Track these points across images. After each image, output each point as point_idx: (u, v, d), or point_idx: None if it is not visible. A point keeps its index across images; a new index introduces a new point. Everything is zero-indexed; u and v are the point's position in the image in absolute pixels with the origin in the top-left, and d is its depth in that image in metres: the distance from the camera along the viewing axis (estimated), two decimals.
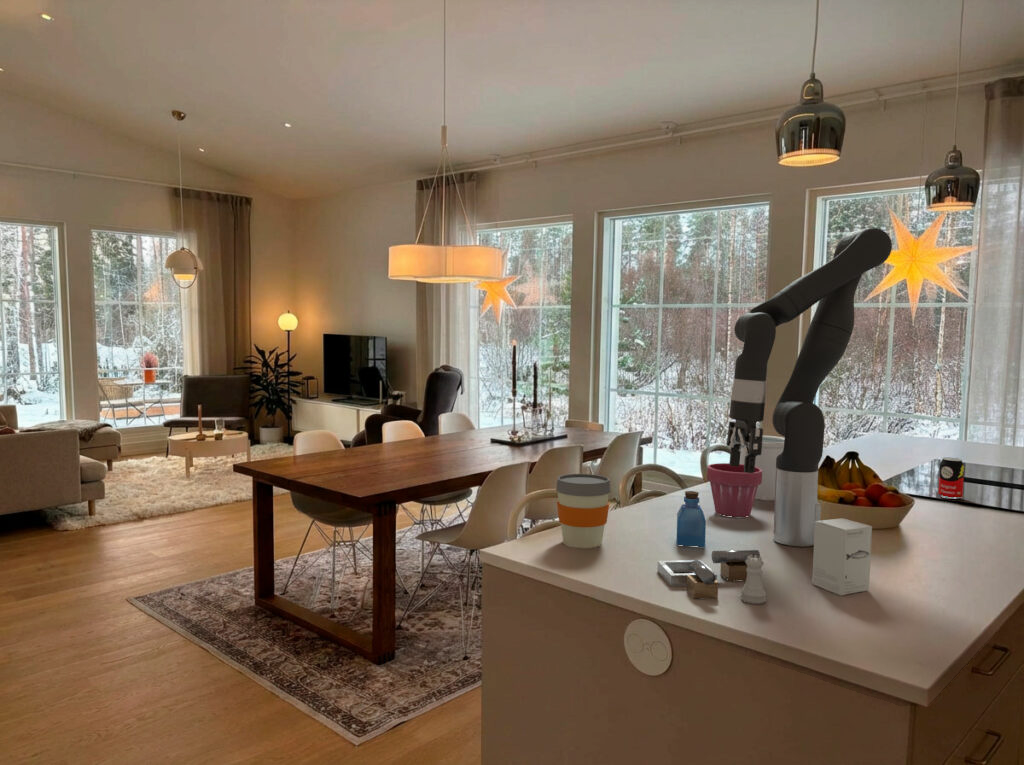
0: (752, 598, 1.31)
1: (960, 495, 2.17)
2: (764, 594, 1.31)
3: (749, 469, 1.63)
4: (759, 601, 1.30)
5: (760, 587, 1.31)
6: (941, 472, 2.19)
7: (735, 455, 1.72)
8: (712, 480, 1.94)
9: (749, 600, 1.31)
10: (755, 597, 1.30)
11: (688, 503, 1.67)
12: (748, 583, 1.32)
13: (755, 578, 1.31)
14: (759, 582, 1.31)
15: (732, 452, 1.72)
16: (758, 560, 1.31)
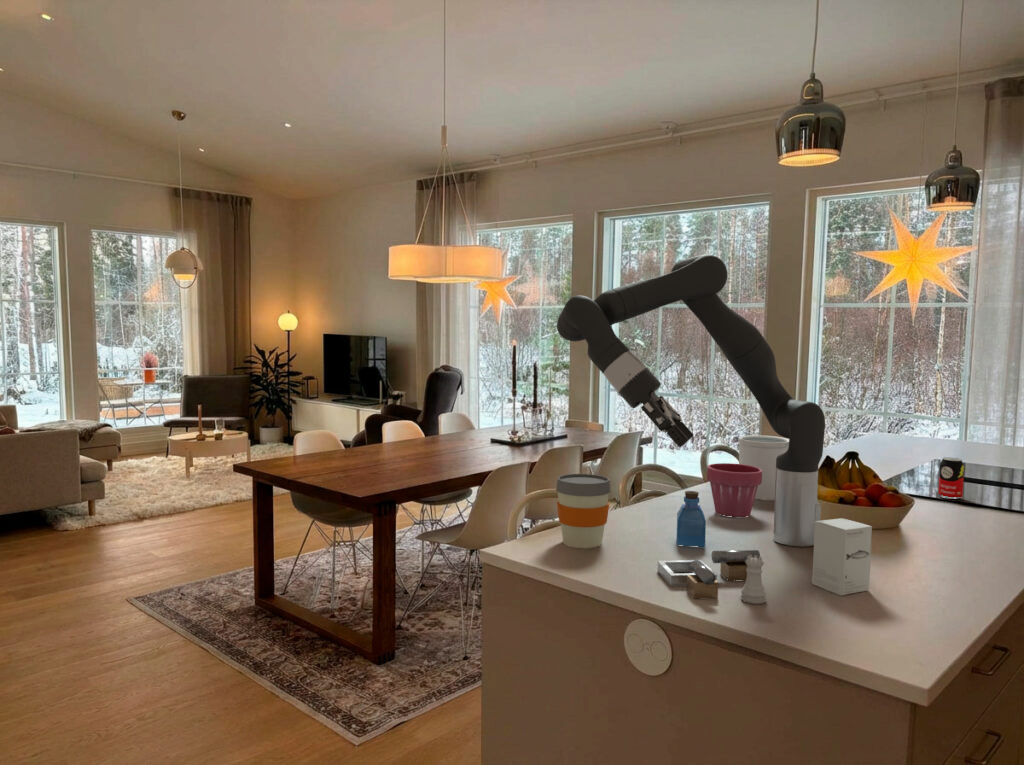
0: (752, 598, 1.31)
1: (960, 495, 2.17)
2: (764, 594, 1.31)
3: (679, 442, 1.36)
4: (759, 601, 1.30)
5: (760, 587, 1.31)
6: (941, 472, 2.19)
7: (680, 429, 1.45)
8: (712, 480, 1.94)
9: (749, 600, 1.31)
10: (755, 597, 1.30)
11: (688, 503, 1.67)
12: (748, 583, 1.32)
13: (755, 578, 1.31)
14: (759, 582, 1.31)
15: None
16: (758, 560, 1.31)
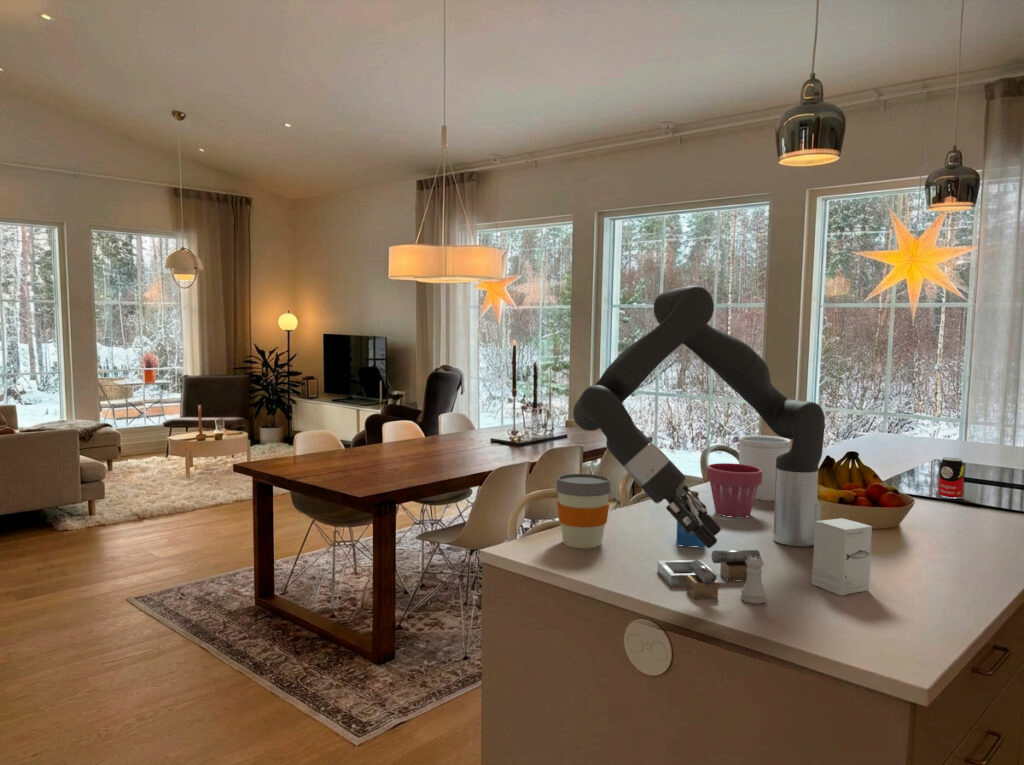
0: (752, 598, 1.31)
1: (960, 495, 2.17)
2: (764, 594, 1.31)
3: (708, 543, 1.29)
4: (759, 601, 1.30)
5: (760, 587, 1.31)
6: (941, 472, 2.19)
7: (707, 523, 1.38)
8: (712, 480, 1.94)
9: (749, 600, 1.31)
10: (755, 597, 1.30)
11: None
12: (748, 583, 1.32)
13: (755, 578, 1.31)
14: (759, 582, 1.31)
15: (701, 523, 1.38)
16: (758, 560, 1.31)
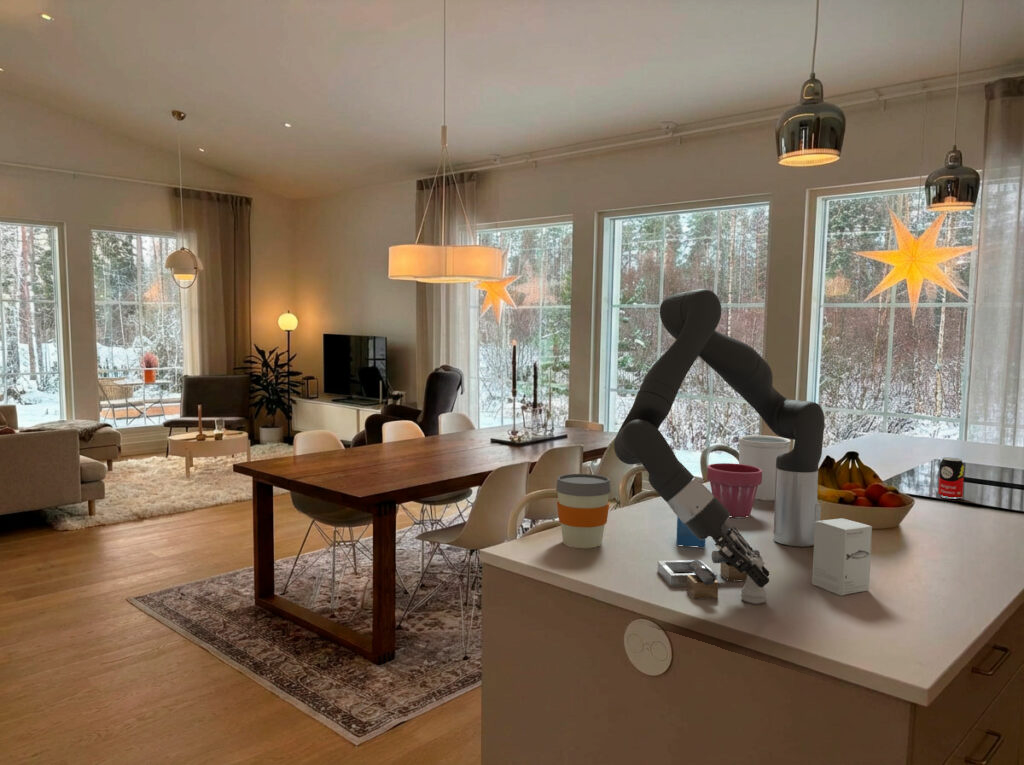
0: (752, 597, 1.31)
1: (960, 495, 2.17)
2: (764, 594, 1.31)
3: (760, 583, 1.29)
4: (759, 601, 1.30)
5: (760, 587, 1.31)
6: (941, 472, 2.19)
7: None
8: (712, 480, 1.94)
9: (749, 600, 1.31)
10: (755, 597, 1.30)
11: None
12: (748, 583, 1.31)
13: None
14: None
15: None
16: (759, 560, 1.30)
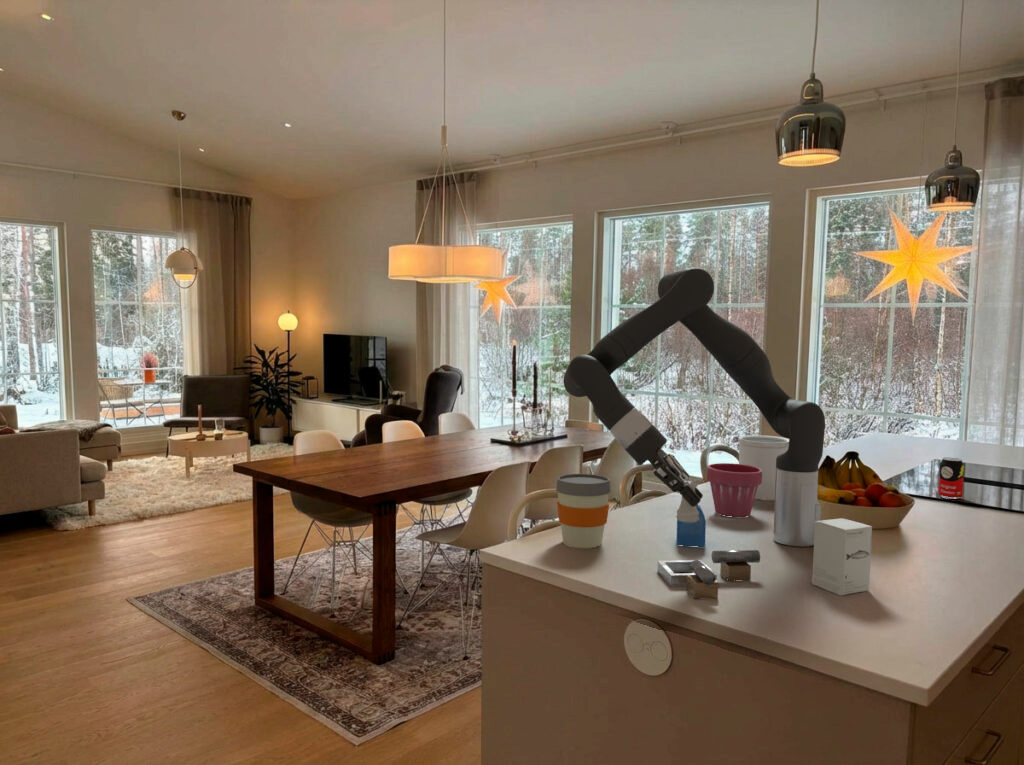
0: (685, 517, 1.42)
1: (960, 495, 2.17)
2: (697, 513, 1.42)
3: (692, 502, 1.40)
4: (692, 520, 1.42)
5: (693, 507, 1.42)
6: (941, 472, 2.19)
7: None
8: (712, 480, 1.94)
9: (683, 519, 1.42)
10: (688, 516, 1.42)
11: None
12: (682, 503, 1.43)
13: None
14: None
15: None
16: (692, 482, 1.42)
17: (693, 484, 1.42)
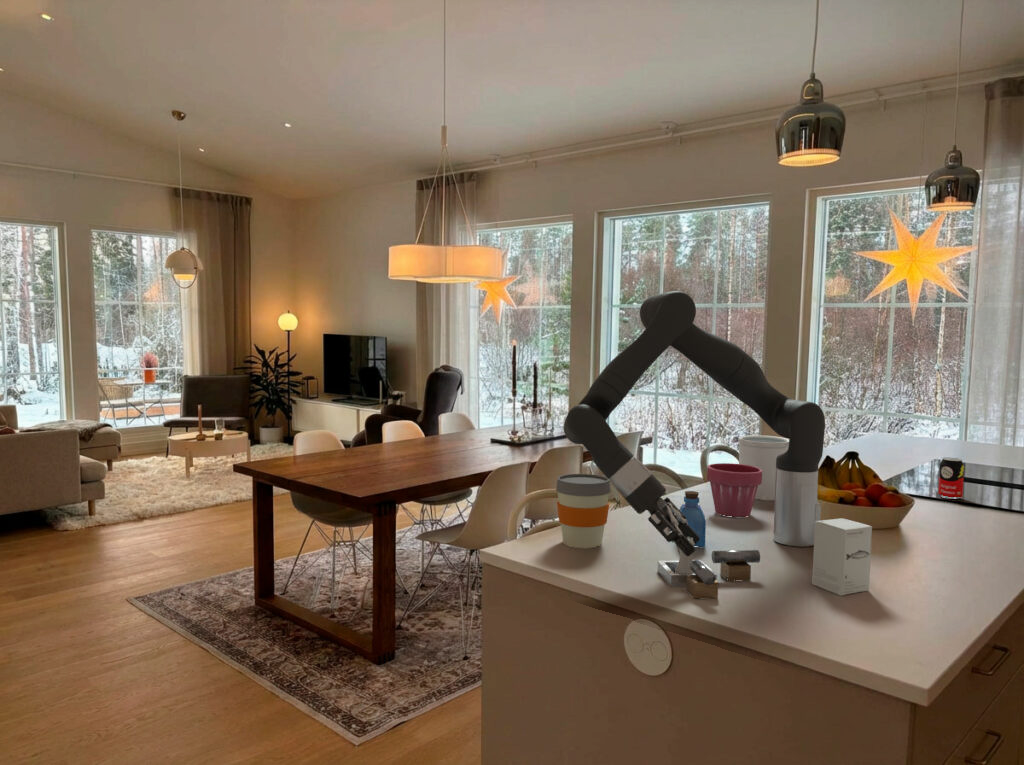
0: None
1: (960, 495, 2.17)
2: None
3: (687, 552, 1.39)
4: None
5: None
6: (941, 472, 2.19)
7: (687, 533, 1.47)
8: (712, 480, 1.94)
9: None
10: None
11: (688, 503, 1.67)
12: (680, 562, 1.43)
13: (686, 558, 1.43)
14: (690, 561, 1.43)
15: (681, 533, 1.48)
16: None
17: (690, 542, 1.43)
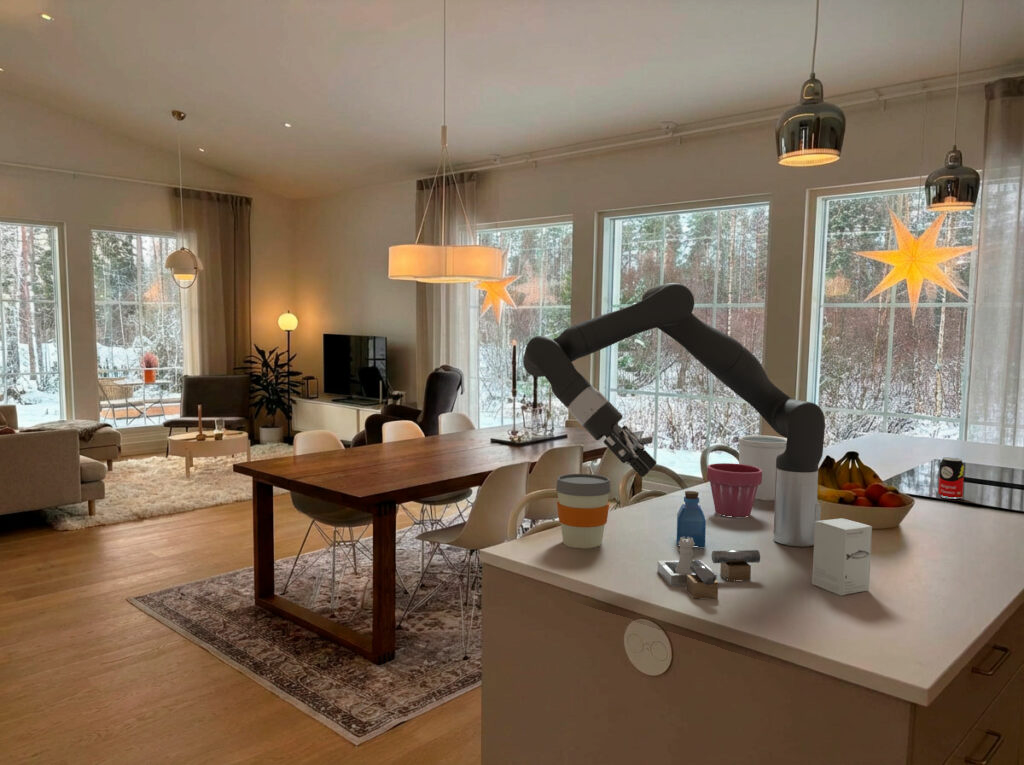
0: None
1: (960, 495, 2.17)
2: None
3: (641, 472, 1.43)
4: None
5: None
6: (941, 472, 2.19)
7: (644, 457, 1.52)
8: (712, 480, 1.94)
9: None
10: None
11: (688, 503, 1.67)
12: (680, 562, 1.44)
13: (686, 558, 1.43)
14: (690, 561, 1.43)
15: (639, 458, 1.53)
16: (689, 541, 1.43)
17: (691, 542, 1.43)
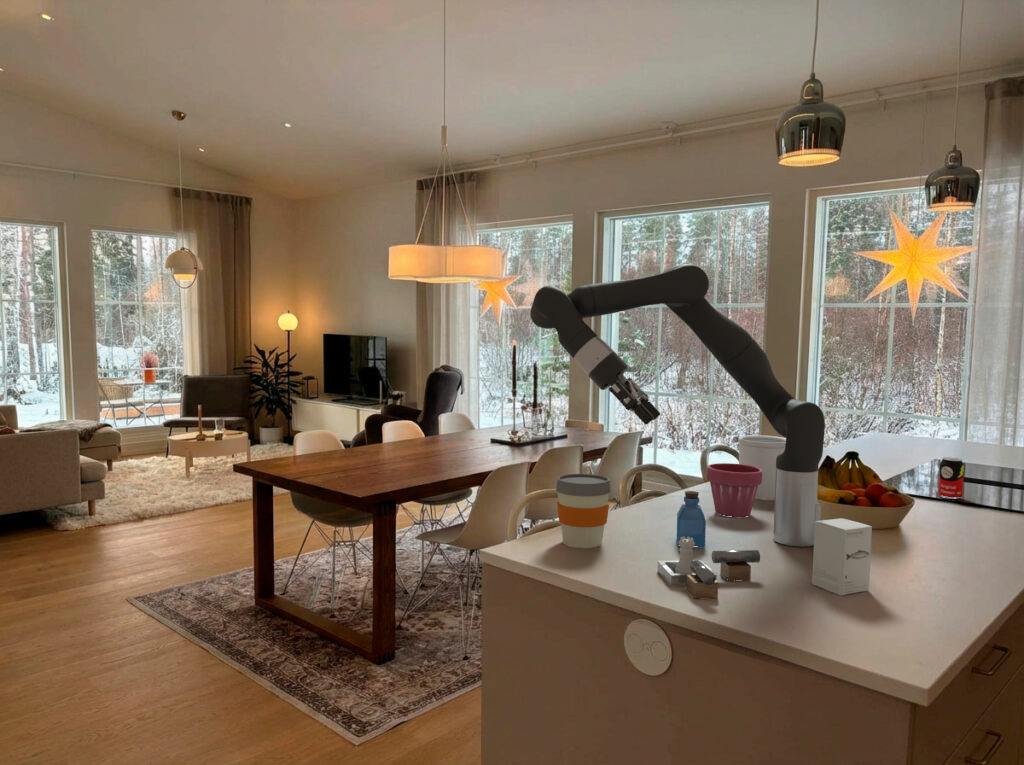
0: None
1: (960, 495, 2.17)
2: None
3: (645, 420, 1.46)
4: None
5: None
6: (941, 472, 2.19)
7: (648, 408, 1.54)
8: (712, 480, 1.94)
9: None
10: None
11: (688, 503, 1.67)
12: (680, 562, 1.44)
13: (686, 558, 1.43)
14: (690, 561, 1.43)
15: None
16: (689, 541, 1.43)
17: (691, 542, 1.43)
